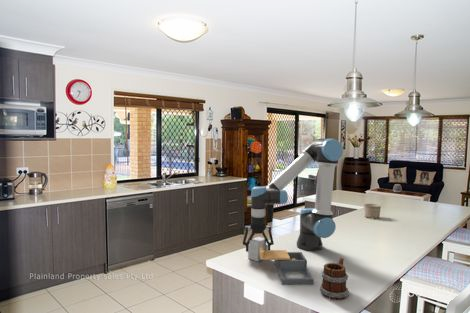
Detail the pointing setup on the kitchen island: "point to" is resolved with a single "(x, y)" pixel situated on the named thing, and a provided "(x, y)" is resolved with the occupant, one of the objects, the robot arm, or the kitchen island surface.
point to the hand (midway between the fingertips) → (258, 257)
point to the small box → (256, 248)
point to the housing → (294, 270)
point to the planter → (372, 210)
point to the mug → (334, 281)
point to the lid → (273, 254)
